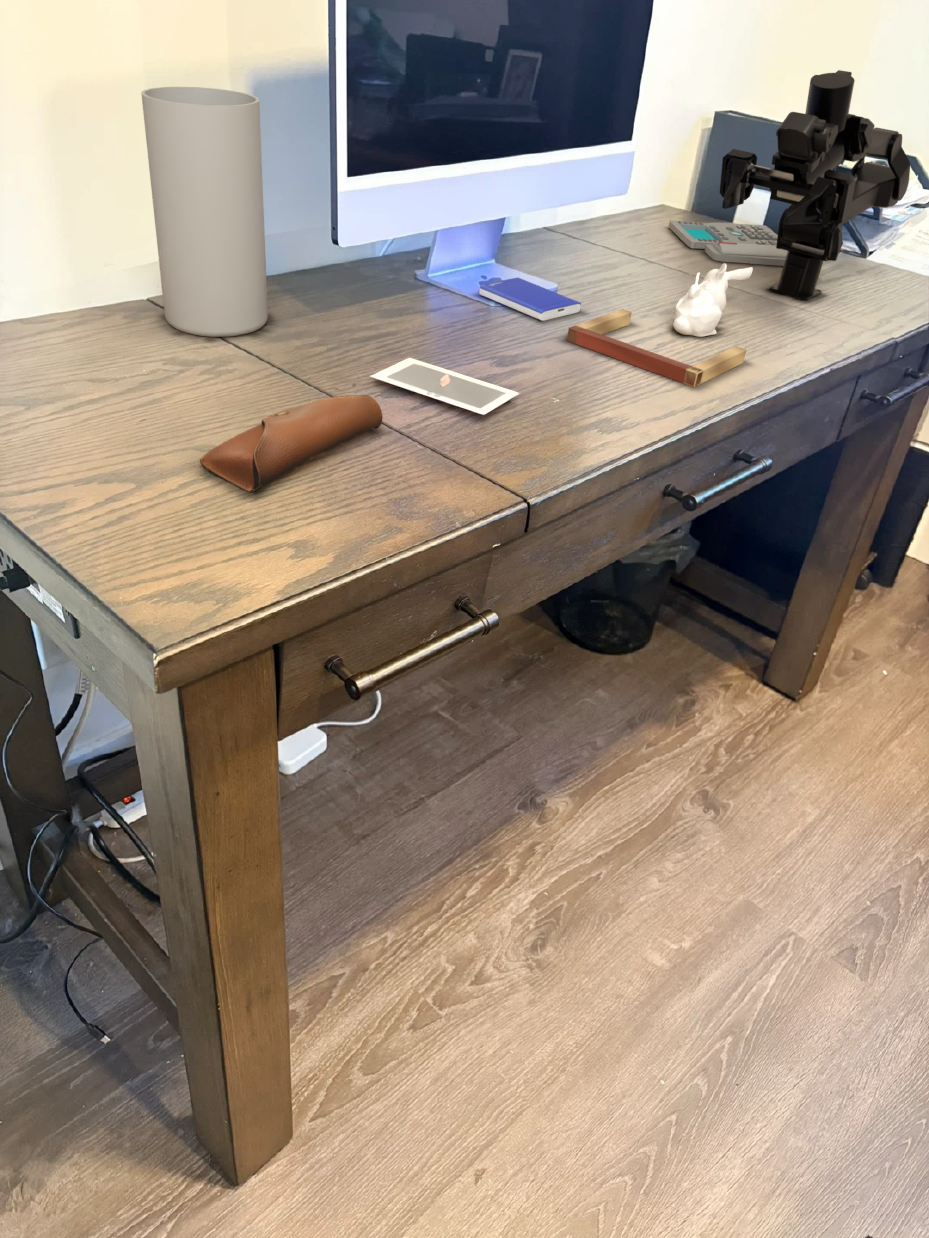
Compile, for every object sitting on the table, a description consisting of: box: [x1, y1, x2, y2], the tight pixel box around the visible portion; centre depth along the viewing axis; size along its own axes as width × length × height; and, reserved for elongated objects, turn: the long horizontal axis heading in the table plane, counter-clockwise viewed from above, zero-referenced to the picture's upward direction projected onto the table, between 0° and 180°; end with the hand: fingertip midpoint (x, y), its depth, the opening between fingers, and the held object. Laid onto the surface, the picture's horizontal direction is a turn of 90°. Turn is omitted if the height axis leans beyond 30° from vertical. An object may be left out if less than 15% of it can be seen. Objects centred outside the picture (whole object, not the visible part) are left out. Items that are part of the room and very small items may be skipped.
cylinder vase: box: [140, 86, 269, 338], centre depth 110 cm, size 12×12×25 cm
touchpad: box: [369, 357, 520, 416], centre depth 104 cm, size 8×15×2 cm, turn 58°
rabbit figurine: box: [672, 262, 754, 338], centre depth 127 cm, size 12×8×10 cm, turn 135°
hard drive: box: [479, 277, 582, 322], centre depth 133 cm, size 2×8×12 cm
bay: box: [566, 308, 747, 388], centre depth 121 cm, size 13×19×2 cm
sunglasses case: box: [199, 394, 383, 493], centre depth 89 cm, size 18×7×7 cm, turn 147°
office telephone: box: [668, 219, 788, 267], centre depth 170 cm, size 23×3×20 cm
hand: (753, 212), depth 126 cm, fingers open, 9 cm apart
